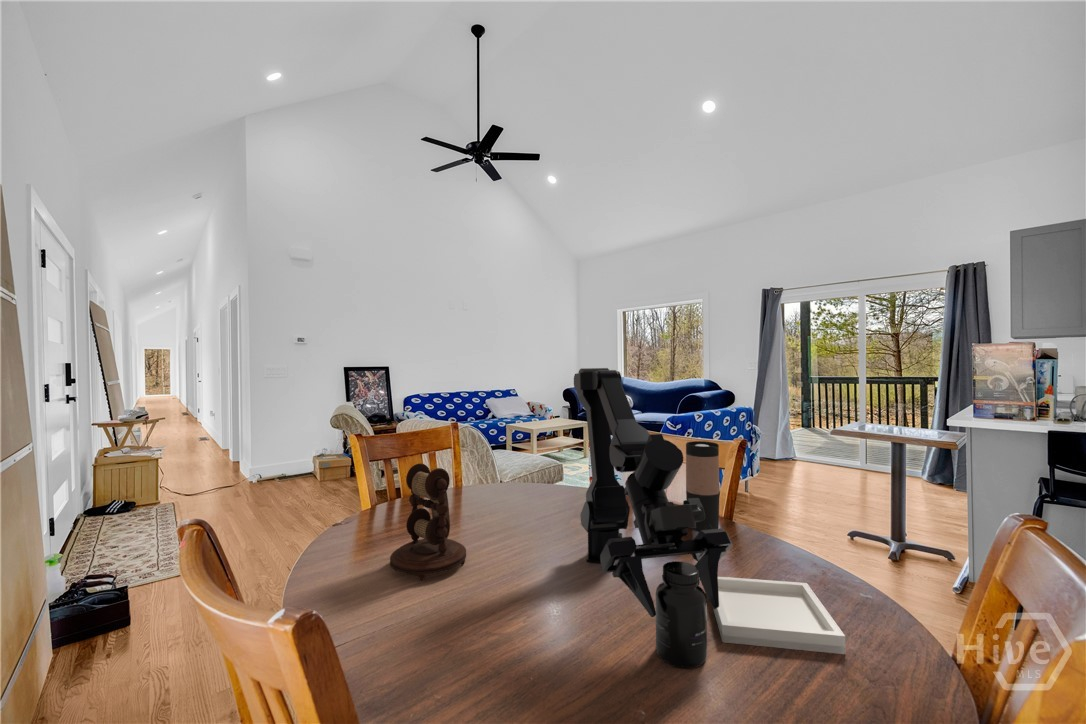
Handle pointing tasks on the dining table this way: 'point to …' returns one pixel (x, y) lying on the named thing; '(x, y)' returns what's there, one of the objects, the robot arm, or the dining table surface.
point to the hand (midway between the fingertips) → (685, 611)
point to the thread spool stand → (428, 527)
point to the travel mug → (704, 480)
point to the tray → (775, 616)
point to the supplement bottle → (681, 616)
